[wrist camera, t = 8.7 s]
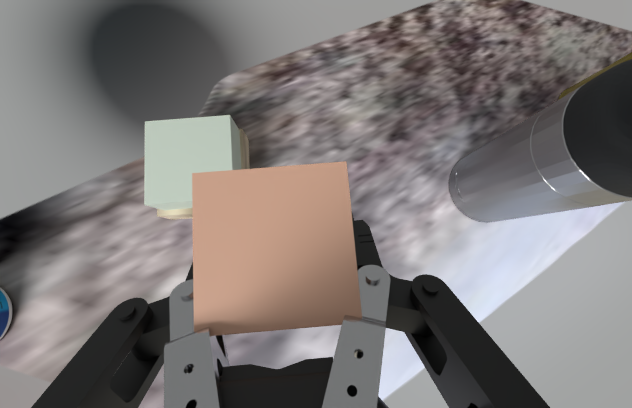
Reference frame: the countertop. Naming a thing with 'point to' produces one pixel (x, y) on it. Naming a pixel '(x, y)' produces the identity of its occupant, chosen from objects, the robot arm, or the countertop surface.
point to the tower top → (186, 156)
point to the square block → (273, 249)
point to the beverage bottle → (5, 312)
